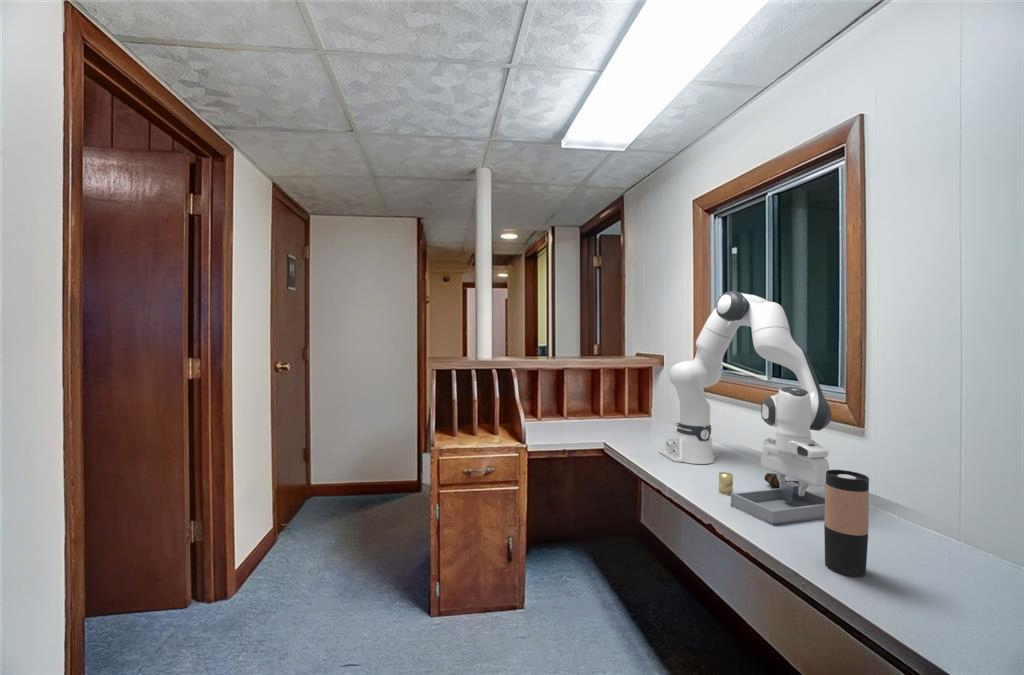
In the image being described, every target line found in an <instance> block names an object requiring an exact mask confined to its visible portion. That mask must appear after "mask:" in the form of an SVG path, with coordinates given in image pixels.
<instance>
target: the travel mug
mask: <svg viewBox="0 0 1024 675" xmlns="http://www.w3.org/2000/svg"><path fill="white" fill-rule="evenodd" d="M869 487H870V477H868V476H867V475H866V474H863V473H860V472H855V471H852V470H844V469H829V470H828V471H826V486H825V488H824V489H825V492H824V493H825V495H824V497H825V518H823V519H824V522H823V523H824V525H823V527H824V530H823V531H824V534H823V536H824V564H825V567H826V566H827V567H828V568H827V567H826V568H827V569H829V570H830V569H831V571H832V570H833V571H832V572H834V573H836V574H839V575H842V576H845V575H846V576H845V577H850V576H851V577H852V578H860V577H864V576H866V572H867V562H868V561H867V558H868V543H869V516H870V515H869V508H870V506H869V505H870V504H869V502H870V501H869V500H870V499H869V496H870V495H869V494H870V493H869V491H870V490H869V489H870V488H869Z"/></svg>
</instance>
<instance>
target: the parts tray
mask: <svg viewBox="0 0 1024 675" xmlns="http://www.w3.org/2000/svg"><path fill="white" fill-rule="evenodd" d="M730 506H731V507H732V506H733V507H732V508H734V507H736V508H738V509H737V510H739V509H740V510H739V511H741V510H742V511H741V512H743V511H744V512H743V513H745V512H747V513H749V514H751V515H753V516H755V517H754V518H756V517H757V518H756V519H758V518H759V519H758V520H760V519H761V521H762V520H763V521H762V522H764V521H765V523H766V522H767V524H768V523H769V525H771V526H778V525H785V524H792V523H799V522H806V521H815V520H821V519H824V518H825V496H822V495H819V494H817V493H814V492H810V491H808V490H805V495H804V496H803V500H795V501H792V500H789V499H786V498H784V497H781V489H780V488H777V489H774V488H769V489H768V488H767V489H759V490H751V491H740V492H733V493H731V495H730ZM736 508H735V509H736ZM747 513H746V514H747ZM749 514H748V515H749ZM751 515H750V516H751ZM753 516H752V517H753Z"/></svg>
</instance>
